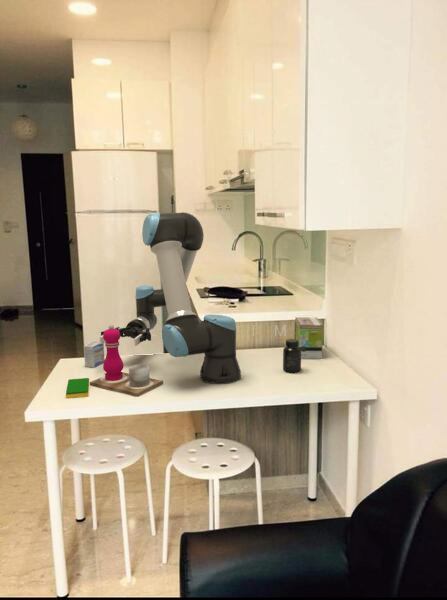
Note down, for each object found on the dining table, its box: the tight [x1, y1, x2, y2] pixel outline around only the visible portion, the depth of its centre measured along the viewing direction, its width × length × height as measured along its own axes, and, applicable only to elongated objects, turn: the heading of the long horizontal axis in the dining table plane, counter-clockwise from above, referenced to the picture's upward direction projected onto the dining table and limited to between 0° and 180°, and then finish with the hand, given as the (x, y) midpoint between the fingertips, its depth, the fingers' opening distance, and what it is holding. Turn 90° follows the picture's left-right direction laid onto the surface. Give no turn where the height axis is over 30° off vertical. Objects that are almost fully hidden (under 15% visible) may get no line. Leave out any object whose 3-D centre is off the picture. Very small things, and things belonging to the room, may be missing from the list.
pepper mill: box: [102, 323, 125, 381], centre depth 182 cm, size 7×7×20 cm
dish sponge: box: [65, 377, 90, 399], centre depth 176 cm, size 7×14×2 cm, turn 13°
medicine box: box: [83, 340, 106, 368], centre depth 204 cm, size 8×4×9 cm, turn 162°
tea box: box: [294, 316, 324, 360], centre depth 215 cm, size 15×10×15 cm
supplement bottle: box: [282, 338, 302, 374], centre depth 194 cm, size 7×7×12 cm
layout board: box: [89, 364, 164, 398], centre depth 180 cm, size 22×14×7 cm, turn 59°
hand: (117, 341), depth 187 cm, fingers open, 13 cm apart
